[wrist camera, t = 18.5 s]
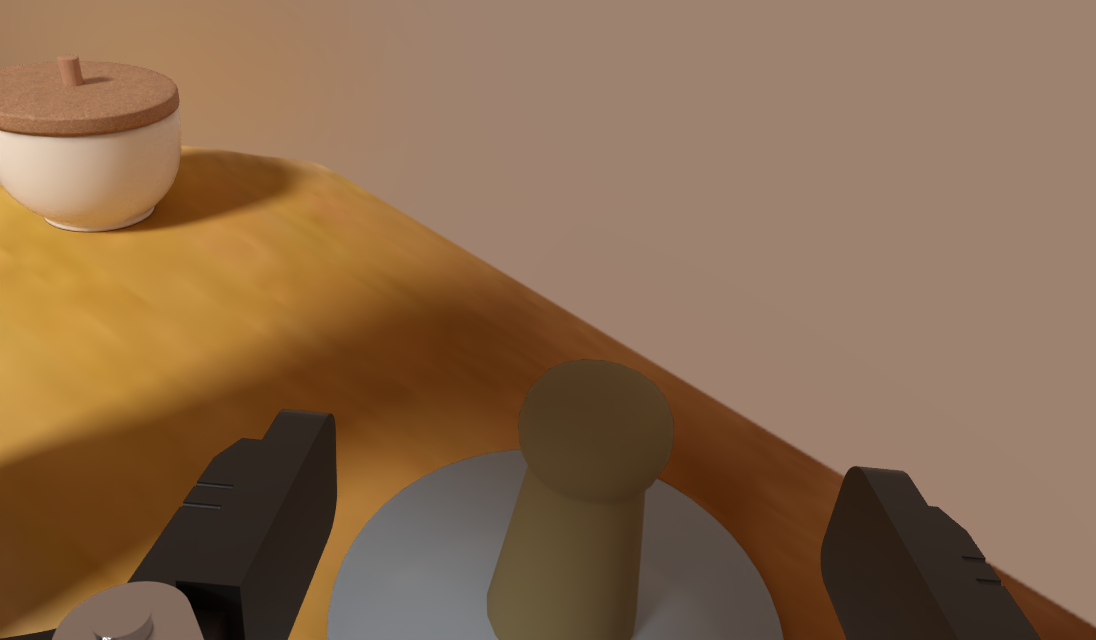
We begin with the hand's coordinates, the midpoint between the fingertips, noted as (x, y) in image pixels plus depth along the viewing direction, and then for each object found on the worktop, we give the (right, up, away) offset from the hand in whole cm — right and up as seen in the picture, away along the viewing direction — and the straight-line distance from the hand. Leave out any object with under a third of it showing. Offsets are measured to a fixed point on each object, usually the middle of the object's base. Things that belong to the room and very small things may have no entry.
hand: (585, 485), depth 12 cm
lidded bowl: (-34, +10, +44) cm, 57 cm away
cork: (0, -9, +19) cm, 21 cm away
